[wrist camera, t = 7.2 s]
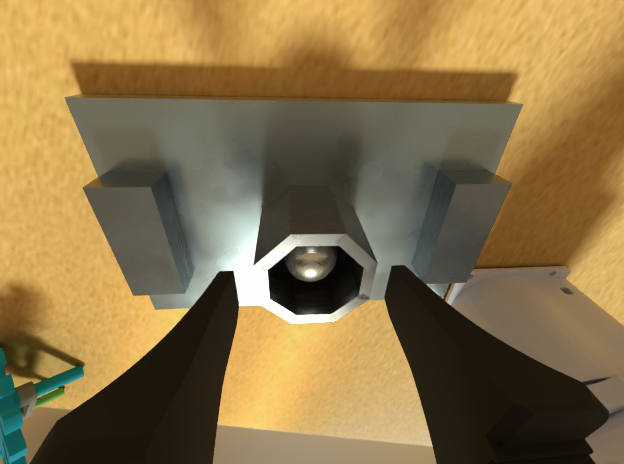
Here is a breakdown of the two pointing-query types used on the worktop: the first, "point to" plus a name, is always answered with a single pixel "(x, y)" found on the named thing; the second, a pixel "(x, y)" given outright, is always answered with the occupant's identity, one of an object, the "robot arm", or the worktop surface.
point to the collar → (312, 232)
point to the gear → (24, 407)
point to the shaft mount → (289, 183)
